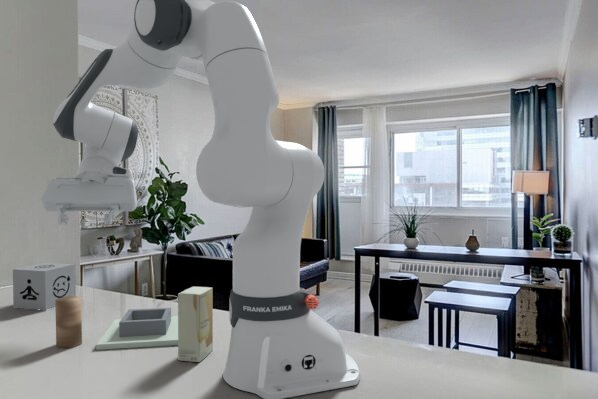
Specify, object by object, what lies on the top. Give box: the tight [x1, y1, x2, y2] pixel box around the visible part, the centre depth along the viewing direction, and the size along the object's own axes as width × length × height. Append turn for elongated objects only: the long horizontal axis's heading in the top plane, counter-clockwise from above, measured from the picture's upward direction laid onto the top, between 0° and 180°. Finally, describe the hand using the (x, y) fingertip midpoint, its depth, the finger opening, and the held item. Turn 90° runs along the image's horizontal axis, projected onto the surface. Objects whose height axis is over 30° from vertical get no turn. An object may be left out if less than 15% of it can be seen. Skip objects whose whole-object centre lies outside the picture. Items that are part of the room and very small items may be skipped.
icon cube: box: [12, 262, 77, 310], centre depth 115 cm, size 10×10×10 cm
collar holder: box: [95, 307, 178, 351], centre depth 93 cm, size 16×16×4 cm
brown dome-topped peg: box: [54, 295, 83, 350], centre depth 86 cm, size 4×4×9 cm
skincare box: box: [177, 286, 214, 363], centre depth 81 cm, size 6×4×12 cm
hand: (85, 222), depth 98 cm, fingers open, 8 cm apart
